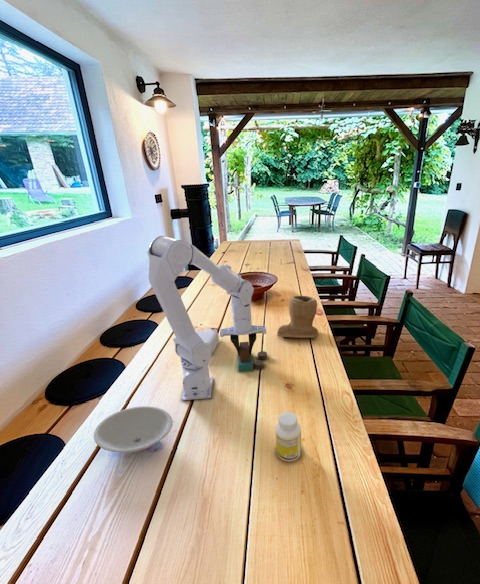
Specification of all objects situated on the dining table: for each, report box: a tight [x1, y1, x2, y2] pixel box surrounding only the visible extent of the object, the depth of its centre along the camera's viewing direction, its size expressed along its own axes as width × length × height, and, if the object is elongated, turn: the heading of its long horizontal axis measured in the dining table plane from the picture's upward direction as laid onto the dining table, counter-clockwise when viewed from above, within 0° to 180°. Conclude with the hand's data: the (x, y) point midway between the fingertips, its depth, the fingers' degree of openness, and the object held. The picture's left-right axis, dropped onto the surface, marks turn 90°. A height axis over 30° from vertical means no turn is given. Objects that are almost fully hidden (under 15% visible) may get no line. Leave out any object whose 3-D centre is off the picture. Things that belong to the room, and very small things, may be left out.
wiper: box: [237, 341, 254, 372], centre depth 106 cm, size 10×4×6 cm, turn 5°
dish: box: [93, 405, 173, 454], centre depth 75 cm, size 18×14×5 cm
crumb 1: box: [257, 350, 268, 361], centre depth 109 cm, size 3×3×2 cm
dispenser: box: [195, 328, 220, 355], centre depth 118 cm, size 5×9×15 cm
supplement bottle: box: [275, 411, 302, 462], centre depth 70 cm, size 5×5×10 cm
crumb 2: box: [253, 359, 265, 370], centre depth 104 cm, size 3×3×2 cm
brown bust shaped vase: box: [276, 295, 319, 339], centre depth 121 cm, size 15×12×15 cm
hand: (244, 353), depth 105 cm, fingers closed on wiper, 3 cm apart
